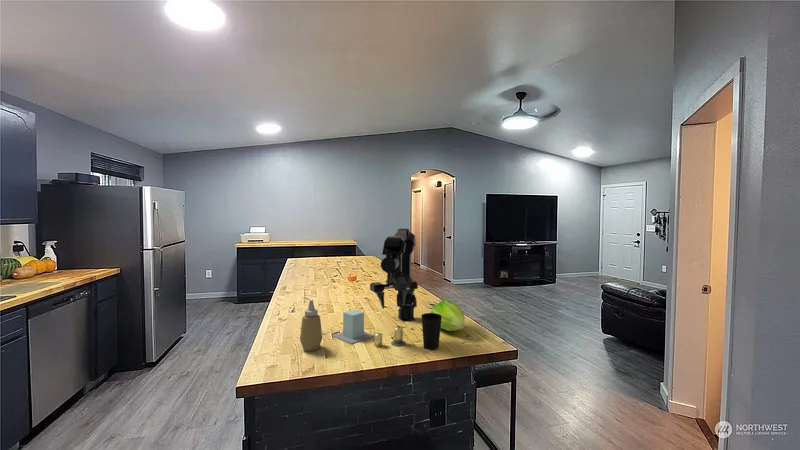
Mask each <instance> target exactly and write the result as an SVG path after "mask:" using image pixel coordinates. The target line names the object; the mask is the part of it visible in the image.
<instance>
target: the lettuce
mask: <svg viewBox="0 0 800 450" xmlns="http://www.w3.org/2000/svg"><path fill="white" fill-rule="evenodd" d="M430 313H436V314H439V315H441V316H442V319H441V329H442V330H444V331H447V332H455V331H458V330H463V329H464V328H465V314H464V311H463V309H462V308H461V307H460V306H459V305H458V304H456V303H454V302H451V301H450V300H447V299H444V300H439V302H438V303H437V304H435V305H434V306H433V307H432V309H431V311H430ZM441 329H440V330H441Z"/></svg>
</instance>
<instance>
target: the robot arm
mask: <svg viewBox="0 0 800 450" xmlns="http://www.w3.org/2000/svg"><path fill="white" fill-rule="evenodd" d="M416 244H417V241H416V236H415V234H414V233H413V232H411V231H410V229H409V228H398V229H397V232H396V233H394V235H391V236H386V239H384V243H383V248H382V253H381V254H382V255H383V256H385V257H384V258H383V259H382V260H381V263H380V268H381V269H382V271H384V273H386V280H385V283H381V282H380V281H379V282H378V281H377V282H376V281H375V282H371V283H370V284H369V290H370V291H371V292H373V293H375V294H376V296H377V298H378V300H379V303H380V305H381V308H382V309H385V292H384V290H388V289H394V290H395V291H396V292H397V293H396V306H397V307H398V312H397V314H398V316H397V318H398V319H399V320H400V321H403V322H409V321H414V320H416V318H415V317H414V315H415V313H414V312H415V308H417V306H418V302H417V297H416V295H415V290H418V289H419V287H418V286H419V285H418V282H417V281H416V280H413V279H412V276H411V274H412V254H413V252H414V250H415V249H416V248H415V247H416V246H417V245H416Z"/></svg>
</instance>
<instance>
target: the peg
mask: <svg viewBox="0 0 800 450" xmlns="http://www.w3.org/2000/svg"><path fill="white" fill-rule="evenodd" d="M393 331H394V332H393V333H394V335H393V336H394V338H393V341H394V343H395V344H403V341H404V327H403V326H401V325H395V326H394V330H393Z"/></svg>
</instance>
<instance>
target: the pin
mask: <svg viewBox="0 0 800 450" xmlns="http://www.w3.org/2000/svg"><path fill="white" fill-rule="evenodd" d="M373 335H374V337H373V338H374V342H373V344H374V347H376V348H381V347H382V346H383V333H382V332H375V333H374V334H373Z"/></svg>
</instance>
